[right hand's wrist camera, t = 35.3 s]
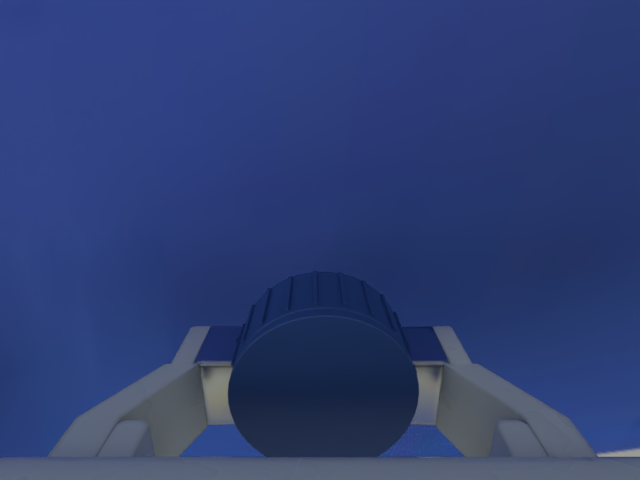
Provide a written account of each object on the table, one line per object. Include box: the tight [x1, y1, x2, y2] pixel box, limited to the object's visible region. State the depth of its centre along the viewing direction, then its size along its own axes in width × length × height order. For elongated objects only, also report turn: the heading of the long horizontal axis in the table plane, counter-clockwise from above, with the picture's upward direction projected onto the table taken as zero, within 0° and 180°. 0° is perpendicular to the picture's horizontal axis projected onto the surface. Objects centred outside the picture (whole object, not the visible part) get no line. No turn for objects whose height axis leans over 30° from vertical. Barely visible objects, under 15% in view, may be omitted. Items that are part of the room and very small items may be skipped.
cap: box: [228, 271, 419, 457], centre depth 9 cm, size 4×4×2 cm
